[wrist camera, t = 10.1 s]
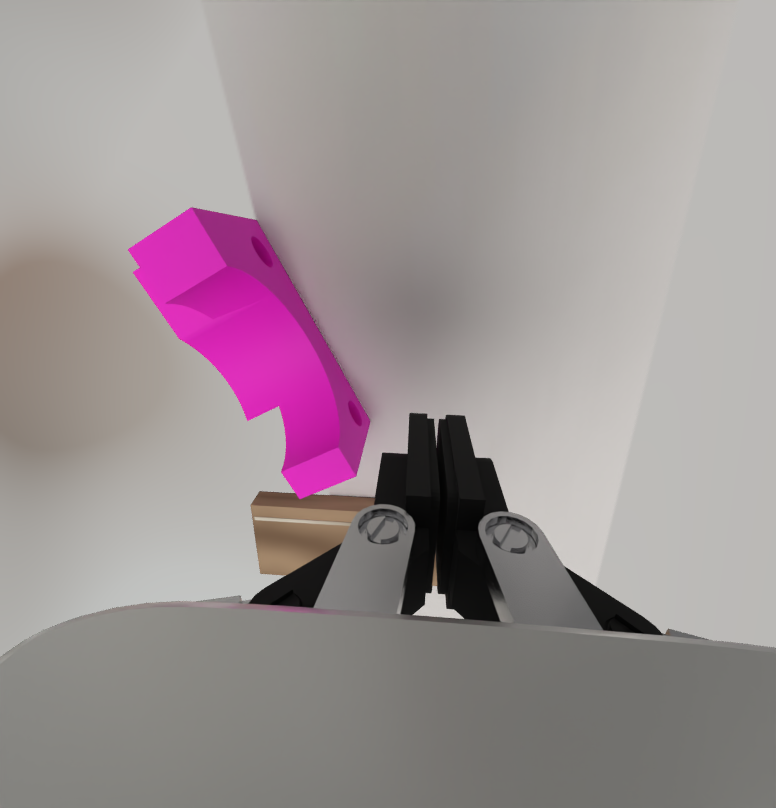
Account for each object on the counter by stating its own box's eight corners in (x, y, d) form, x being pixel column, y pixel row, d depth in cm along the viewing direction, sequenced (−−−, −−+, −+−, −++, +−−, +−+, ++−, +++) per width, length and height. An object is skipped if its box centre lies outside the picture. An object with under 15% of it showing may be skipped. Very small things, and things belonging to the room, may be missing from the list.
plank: (259, 491, 31) (250, 505, 29) (482, 504, 30) (486, 519, 28) (268, 557, 33) (260, 574, 32) (473, 571, 32) (476, 589, 31)
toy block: (180, 268, 25) (88, 275, 18) (257, 220, 23) (191, 207, 16) (300, 451, 29) (264, 513, 22) (370, 420, 28) (356, 476, 21)
